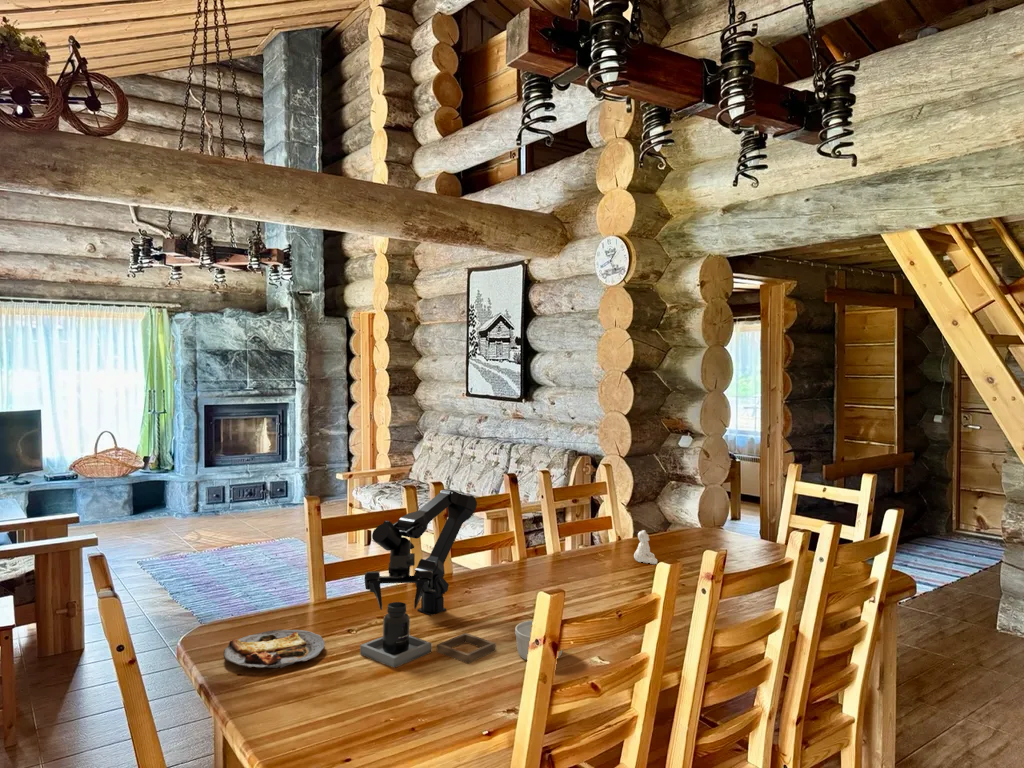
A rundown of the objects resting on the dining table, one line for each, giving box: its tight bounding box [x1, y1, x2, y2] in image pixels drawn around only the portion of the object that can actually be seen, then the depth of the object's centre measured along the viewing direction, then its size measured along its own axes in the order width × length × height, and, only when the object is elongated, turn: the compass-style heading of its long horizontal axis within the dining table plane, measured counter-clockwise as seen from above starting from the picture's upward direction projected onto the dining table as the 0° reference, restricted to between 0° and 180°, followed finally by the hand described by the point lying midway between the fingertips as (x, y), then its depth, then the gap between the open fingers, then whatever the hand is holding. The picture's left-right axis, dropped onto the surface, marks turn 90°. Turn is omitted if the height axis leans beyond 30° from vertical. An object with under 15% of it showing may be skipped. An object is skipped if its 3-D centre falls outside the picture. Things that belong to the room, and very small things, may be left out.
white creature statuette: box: [633, 529, 658, 565], centre depth 283 cm, size 10×9×12 cm
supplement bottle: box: [382, 601, 411, 655], centre depth 192 cm, size 7×7×12 cm
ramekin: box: [514, 620, 563, 661], centre depth 193 cm, size 13×13×7 cm
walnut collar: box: [436, 632, 497, 664], centre depth 194 cm, size 11×11×2 cm
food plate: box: [223, 628, 326, 669], centre depth 191 cm, size 25×23×4 cm
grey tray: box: [359, 634, 433, 669], centre depth 192 cm, size 13×13×2 cm
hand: (398, 608), depth 200 cm, fingers open, 9 cm apart
